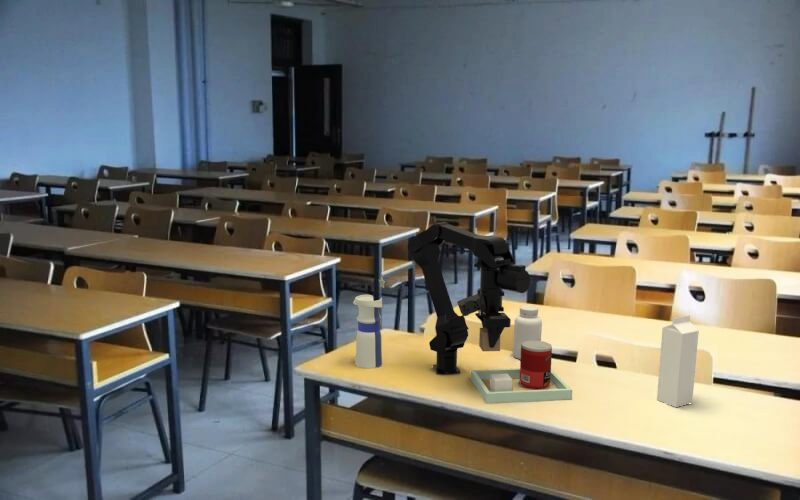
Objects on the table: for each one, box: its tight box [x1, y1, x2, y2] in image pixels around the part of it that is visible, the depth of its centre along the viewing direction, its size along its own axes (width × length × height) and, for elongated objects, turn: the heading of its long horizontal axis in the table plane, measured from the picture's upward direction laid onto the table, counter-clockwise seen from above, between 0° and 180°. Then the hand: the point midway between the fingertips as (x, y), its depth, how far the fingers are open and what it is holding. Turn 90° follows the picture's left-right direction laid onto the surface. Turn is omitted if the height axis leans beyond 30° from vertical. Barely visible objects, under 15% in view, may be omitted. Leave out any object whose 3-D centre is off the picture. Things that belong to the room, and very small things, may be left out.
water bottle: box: [352, 276, 386, 369], centre depth 204 cm, size 8×9×25 cm
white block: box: [489, 374, 514, 392], centre depth 183 cm, size 4×4×5 cm
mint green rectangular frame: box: [469, 367, 573, 404], centre depth 188 cm, size 17×22×2 cm
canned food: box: [519, 340, 553, 390], centre depth 190 cm, size 8×8×11 cm
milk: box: [656, 315, 699, 408], centre depth 178 cm, size 6×6×22 cm
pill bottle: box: [512, 305, 543, 360], centre depth 212 cm, size 8×8×15 cm
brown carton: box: [478, 327, 501, 352], centre depth 188 cm, size 4×4×5 cm
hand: (489, 344), depth 188 cm, fingers closed on brown carton, 4 cm apart
